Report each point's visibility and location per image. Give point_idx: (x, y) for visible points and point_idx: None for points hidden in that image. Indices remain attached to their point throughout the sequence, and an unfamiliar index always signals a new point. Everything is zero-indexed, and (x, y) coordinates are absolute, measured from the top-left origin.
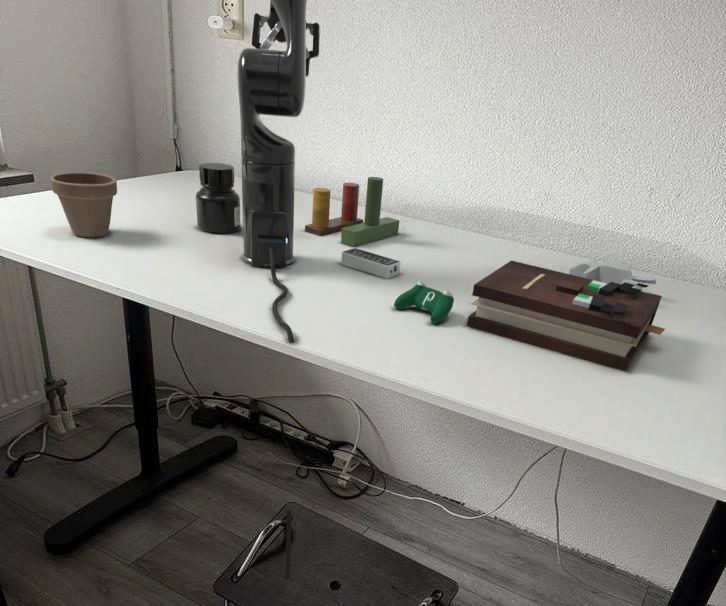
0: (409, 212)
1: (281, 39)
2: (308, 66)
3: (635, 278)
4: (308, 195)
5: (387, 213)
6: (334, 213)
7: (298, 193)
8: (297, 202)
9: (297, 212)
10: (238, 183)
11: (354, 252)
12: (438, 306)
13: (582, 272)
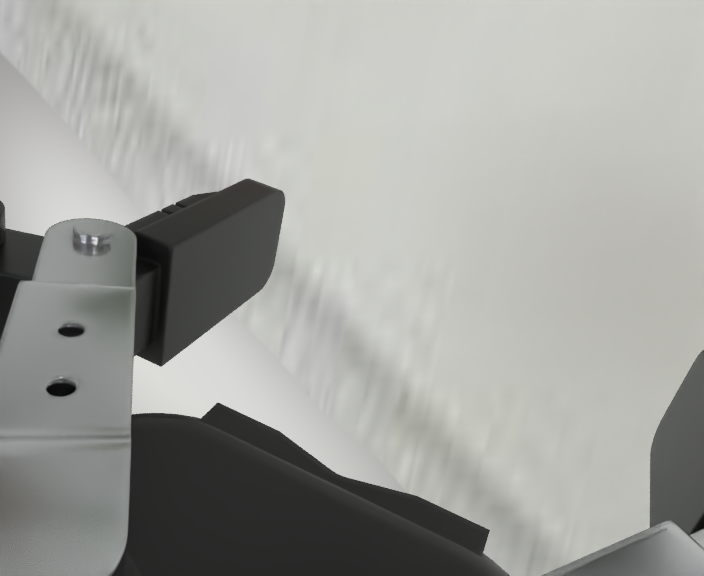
0: (62, 93)
1: (412, 526)
2: (149, 218)
3: None
4: (389, 337)
5: (139, 68)
6: (340, 41)
7: (424, 369)
8: (460, 219)
9: (498, 39)
10: None
11: None
12: None
13: None
